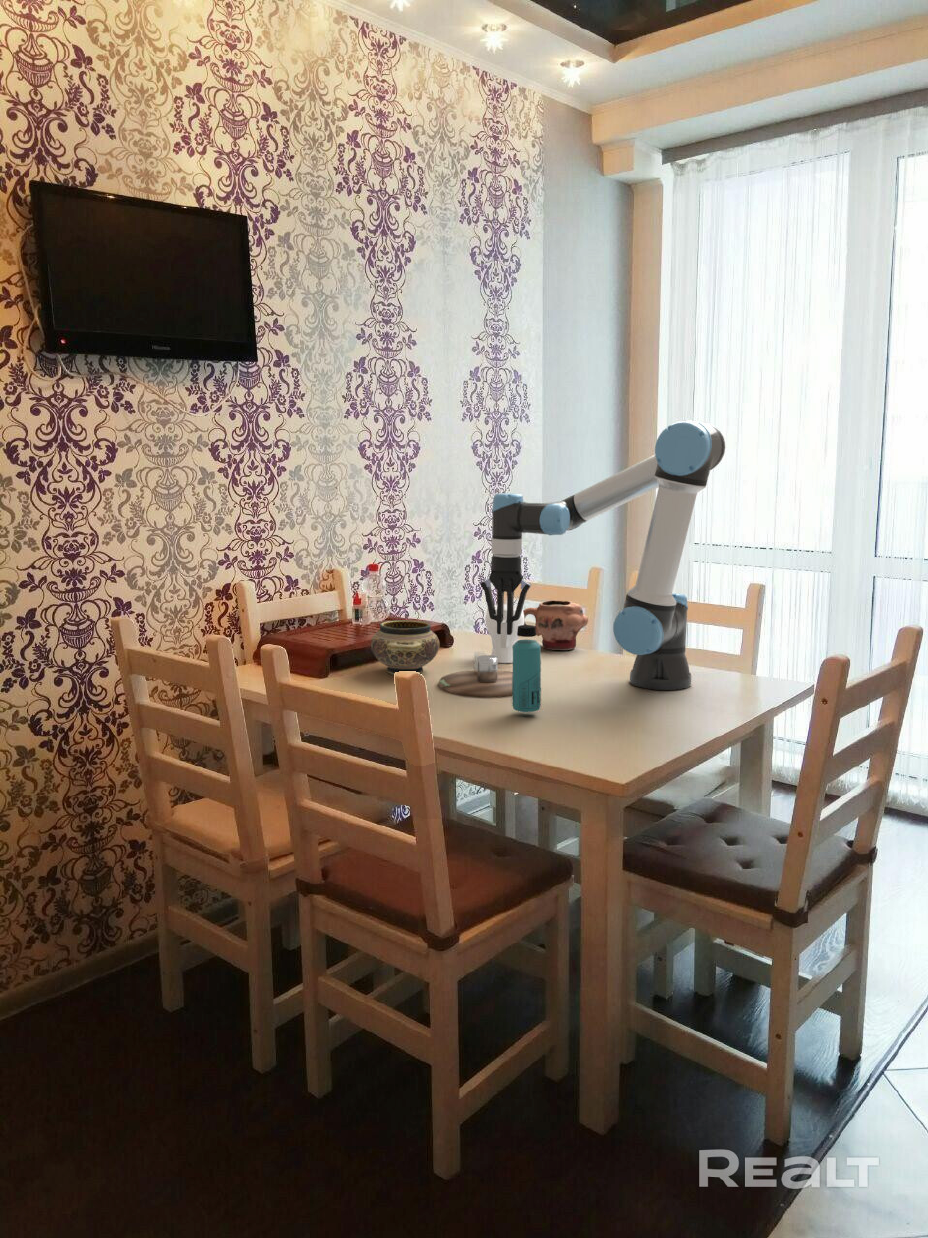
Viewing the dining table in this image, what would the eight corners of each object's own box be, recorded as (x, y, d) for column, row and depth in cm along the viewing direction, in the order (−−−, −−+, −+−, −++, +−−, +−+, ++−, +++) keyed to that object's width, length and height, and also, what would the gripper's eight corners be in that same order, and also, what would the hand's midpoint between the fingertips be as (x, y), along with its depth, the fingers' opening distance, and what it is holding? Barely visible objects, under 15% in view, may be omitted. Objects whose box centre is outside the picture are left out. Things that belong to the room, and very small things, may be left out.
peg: (499, 682, 230) (499, 659, 229) (479, 683, 229) (479, 660, 228) (486, 668, 244) (486, 646, 243) (468, 669, 243) (468, 647, 242)
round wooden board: (555, 688, 228) (555, 683, 228) (471, 702, 216) (471, 696, 216) (501, 669, 248) (501, 664, 248) (422, 680, 236) (422, 675, 236)
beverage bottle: (532, 720, 201) (533, 629, 198) (505, 716, 205) (506, 626, 201) (546, 713, 207) (547, 624, 203) (519, 709, 210) (520, 621, 207)
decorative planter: (519, 652, 270) (519, 604, 268) (519, 643, 282) (520, 598, 280) (588, 653, 269) (589, 605, 267) (586, 644, 281) (587, 598, 279)
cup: (530, 659, 261) (531, 606, 259) (511, 666, 252) (512, 611, 250) (497, 654, 267) (498, 602, 264) (478, 661, 258) (478, 608, 255)
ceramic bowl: (426, 694, 234) (441, 637, 232) (358, 676, 234) (372, 619, 231) (433, 671, 258) (446, 620, 256) (371, 655, 258) (384, 603, 256)
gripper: (534, 554, 237) (531, 645, 241) (484, 552, 240) (482, 642, 244) (529, 558, 230) (526, 651, 234) (477, 555, 233) (476, 648, 237)
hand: (504, 646), depth 239 cm, fingers closed
